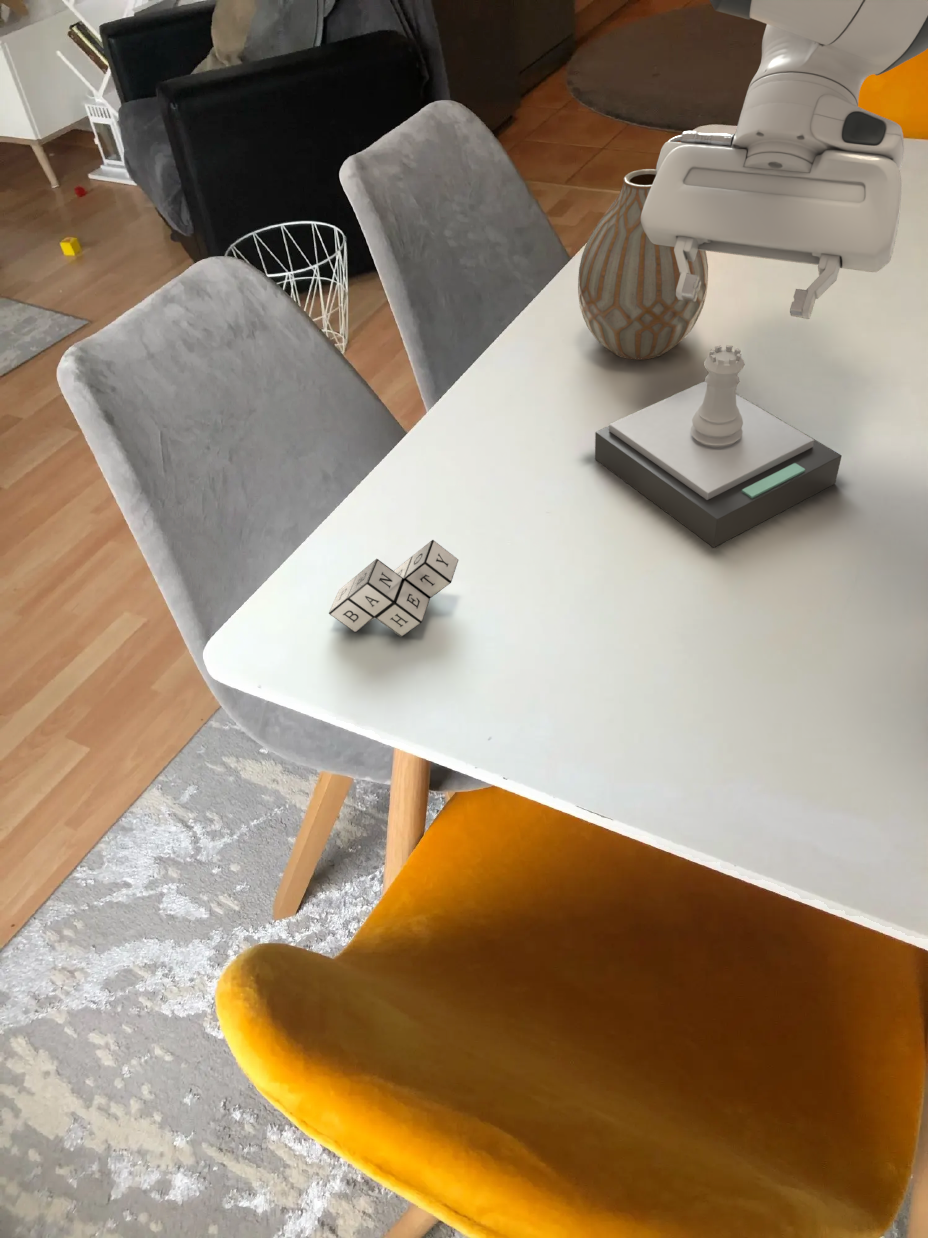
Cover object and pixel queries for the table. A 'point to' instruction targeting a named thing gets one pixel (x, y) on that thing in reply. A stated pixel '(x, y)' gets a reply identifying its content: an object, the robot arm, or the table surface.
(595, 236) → the vase
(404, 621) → the building blocks
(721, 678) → the table surface
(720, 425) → the rook chess piece
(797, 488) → the kitchen scale
